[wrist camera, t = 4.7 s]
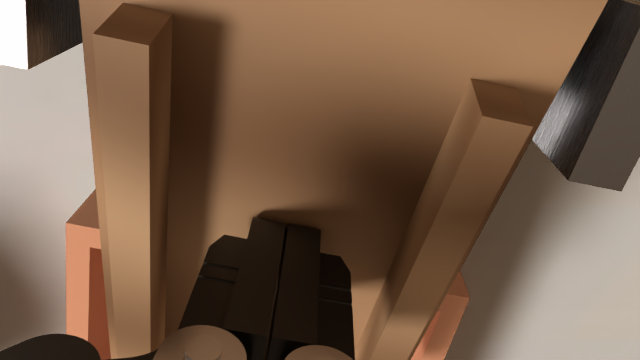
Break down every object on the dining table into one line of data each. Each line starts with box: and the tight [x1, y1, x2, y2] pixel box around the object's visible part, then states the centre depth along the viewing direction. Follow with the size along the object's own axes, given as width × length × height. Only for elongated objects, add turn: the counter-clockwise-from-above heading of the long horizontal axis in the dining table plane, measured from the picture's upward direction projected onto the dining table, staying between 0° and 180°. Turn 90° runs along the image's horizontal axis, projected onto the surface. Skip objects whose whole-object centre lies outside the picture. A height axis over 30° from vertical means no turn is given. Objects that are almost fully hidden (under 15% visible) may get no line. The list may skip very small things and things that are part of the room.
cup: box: [66, 189, 470, 360], centre depth 24 cm, size 14×14×6 cm
